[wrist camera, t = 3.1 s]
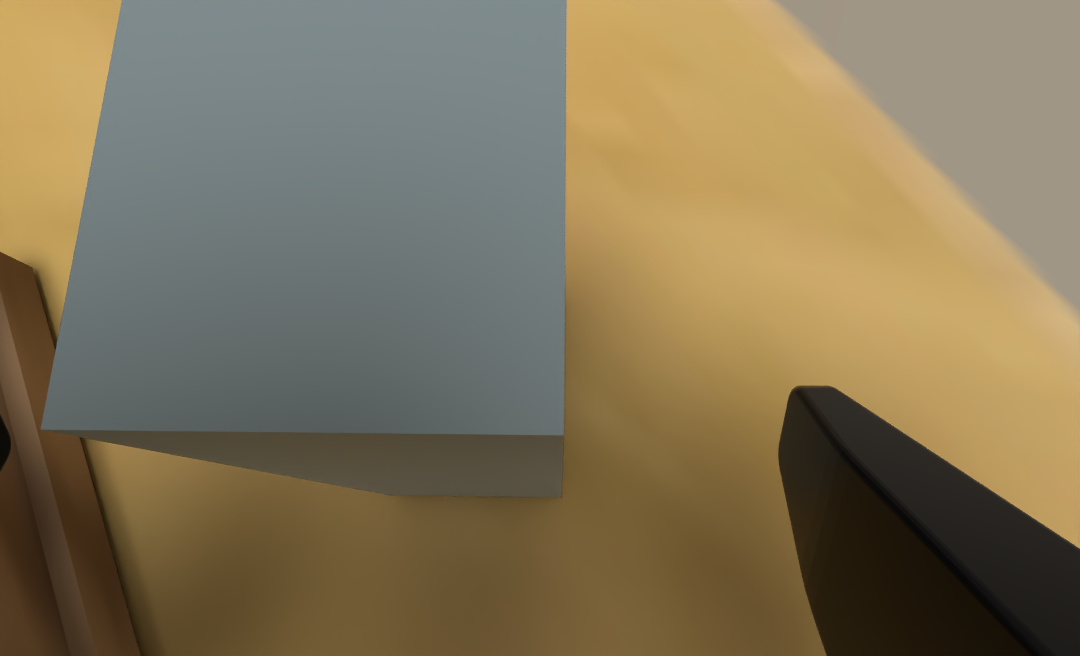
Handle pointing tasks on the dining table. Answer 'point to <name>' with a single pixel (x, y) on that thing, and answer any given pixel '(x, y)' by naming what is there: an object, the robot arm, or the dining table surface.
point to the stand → (48, 506)
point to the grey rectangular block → (327, 244)
